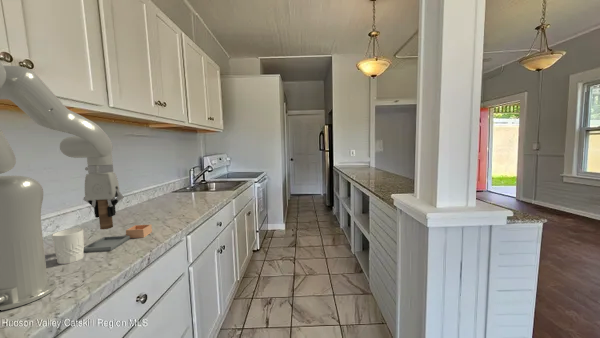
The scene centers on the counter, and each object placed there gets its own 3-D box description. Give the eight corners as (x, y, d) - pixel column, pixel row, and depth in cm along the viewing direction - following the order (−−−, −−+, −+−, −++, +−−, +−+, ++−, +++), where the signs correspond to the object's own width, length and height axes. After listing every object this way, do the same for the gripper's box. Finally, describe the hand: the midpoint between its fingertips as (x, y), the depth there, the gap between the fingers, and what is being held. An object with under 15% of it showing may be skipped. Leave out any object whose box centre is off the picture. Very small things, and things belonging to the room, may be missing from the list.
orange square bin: (143, 238, 105) (143, 229, 105) (126, 239, 104) (125, 230, 104) (152, 233, 112) (151, 224, 112) (135, 233, 111) (135, 225, 111)
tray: (111, 252, 92) (110, 246, 92) (82, 253, 91) (81, 248, 91) (130, 240, 104) (129, 235, 103) (104, 241, 103) (104, 236, 102)
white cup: (67, 266, 81) (64, 236, 80) (48, 264, 83) (45, 235, 82) (91, 255, 89) (89, 228, 88) (74, 254, 90) (71, 227, 90)
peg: (108, 229, 95) (105, 198, 94) (97, 229, 95) (94, 198, 94) (115, 225, 99) (112, 196, 98) (104, 226, 99) (101, 196, 98)
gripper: (69, 171, 90) (74, 220, 92) (118, 170, 92) (122, 218, 94) (84, 169, 98) (89, 214, 99) (129, 168, 99) (133, 212, 101)
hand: (105, 215), depth 96 cm, fingers closed on peg, 4 cm apart
